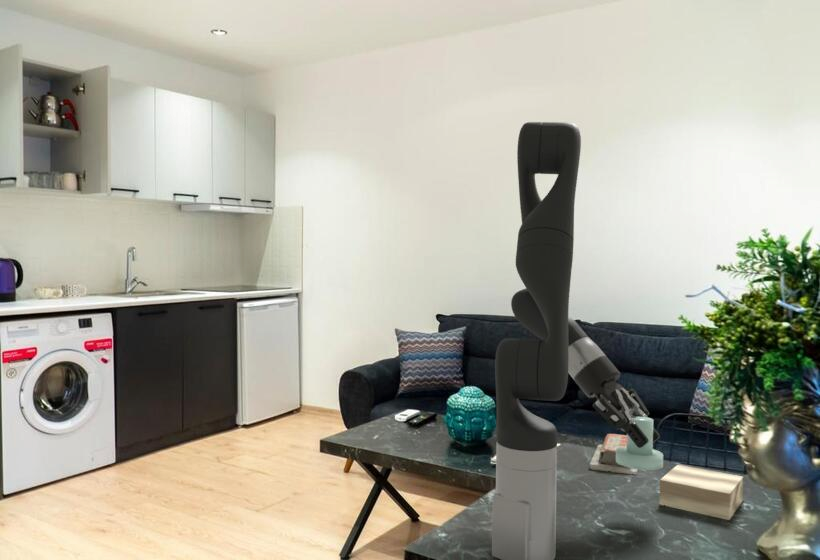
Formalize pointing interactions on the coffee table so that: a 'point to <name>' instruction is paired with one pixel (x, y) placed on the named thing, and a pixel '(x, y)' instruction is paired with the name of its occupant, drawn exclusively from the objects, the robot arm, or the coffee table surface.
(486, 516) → the coffee table surface
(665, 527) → the coffee table surface
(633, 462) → the mint green knob
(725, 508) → the block
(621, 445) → the packaged product
